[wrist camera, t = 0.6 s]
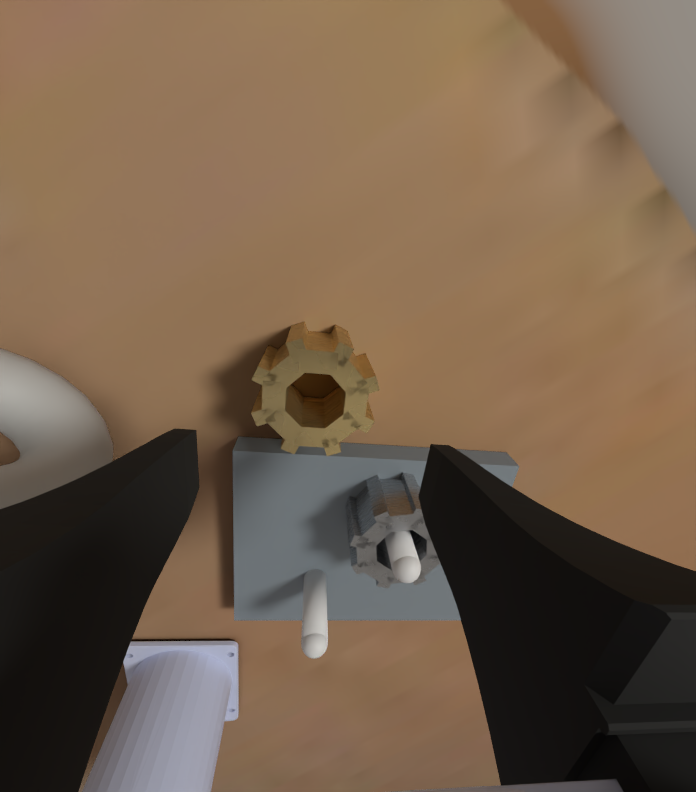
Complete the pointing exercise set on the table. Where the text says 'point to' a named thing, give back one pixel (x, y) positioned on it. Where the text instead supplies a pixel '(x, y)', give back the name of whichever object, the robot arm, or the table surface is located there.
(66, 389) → the donut
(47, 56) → the table surface
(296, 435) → the brass gear
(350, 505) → the fixed gear
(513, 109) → the table surface
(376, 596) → the gear board
